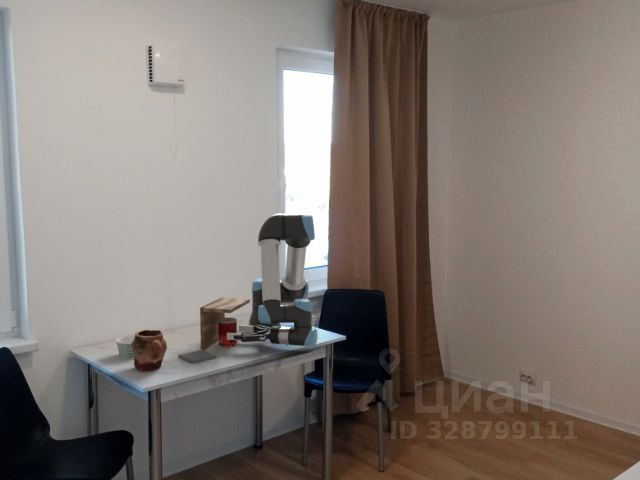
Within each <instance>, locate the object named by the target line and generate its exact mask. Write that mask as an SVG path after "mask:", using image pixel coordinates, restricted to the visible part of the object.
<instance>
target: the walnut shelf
mask: <svg viewBox="0 0 640 480" xmlns="http://www.w3.org/2000/svg"><path fill="white" fill-rule="evenodd" d="M250 301H251V300H250V298H234V297H220V298H217V299H215V300H214V301H211V302H209V303H207V304H205V305H202V306H200V307H199V316H200V317H199V318H200V320H199V323H200V324H199V325H200V329H199V331H200V332H199V333H200V334H199V335H200V350H204V351H206V350H207V349H209V348H210V347H211V346H213V345H215V344H217V343H219V336H218V320H219V319H221V318H226V314H231V313H234V312H235V311H237V310H239V309H241V308H242V307H245V306H246V305H248V304H249V303H250Z"/></svg>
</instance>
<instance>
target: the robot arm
mask: <svg viewBox="0 0 640 480" xmlns="http://www.w3.org/2000/svg"><path fill="white" fill-rule="evenodd" d="M257 237H258V238H257V240H258V242H257V243H258V244H257V245H258V246H259V247H260V260H261V261H260V263H261V266H260V267H261V277H258V278H256V279H254V280H253V281H252V285H251V293H252V296H251V298H252V299H251V300H252V301H251V302H252V303H251V305H252V308H251V314H250V316H249V320H248V325H245V324H244V325H243V324H239V325H238V332H237V333H227V339H228V340H237V341H240V342H241V343H252V342H255V343H256V342H262V343H263V342H266V341H267V340H269V342H270V343H271V344H272V345H285V346H287V347H288V346H300V347H314V346H316V345H317V342H318V339H319V337H318V335H319V334H318V329H316V328H314V327H313V325H312V324H313V323H312V319H313V317H312V316H313V309H312V301H311V300H310V299H309V298H308V296H309V287H310V286H309V281H308V279H306V278H305V276H304V275H305V273H304V272H305V262H306V253H307V247H308V246H309V245H310V244H311V241H314V240H315V239H316V235H315V224H314V219H313V215H312V214H311V213H276V214H272V215H271V216H270V217H268V218H267V219H266V220H265V221H264V222H263V223H262V224H261V227H260V229H259V233H258V236H257ZM281 241H284V242H285V244H286V245H287V246H286V247H287V248H286V262H285V272H284V273H285V274H283V276H282V277H281V275H280V273H281V272H280V256H279V255H280V252H279V247H280V246H281V244H282V243H281ZM288 323H289V324H293V326H281V324H288ZM239 332H241V333H239Z"/></svg>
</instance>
